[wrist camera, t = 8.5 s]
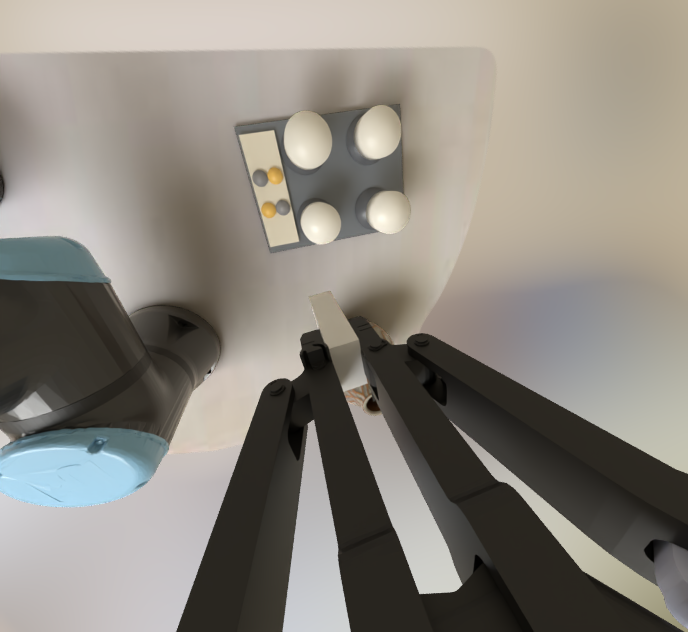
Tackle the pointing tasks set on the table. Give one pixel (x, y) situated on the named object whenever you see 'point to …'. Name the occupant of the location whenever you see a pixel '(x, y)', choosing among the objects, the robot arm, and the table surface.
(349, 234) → the board
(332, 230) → the button
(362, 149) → the button
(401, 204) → the button
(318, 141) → the button
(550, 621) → the robot arm
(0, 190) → the mug
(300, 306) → the table surface
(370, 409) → the vase
